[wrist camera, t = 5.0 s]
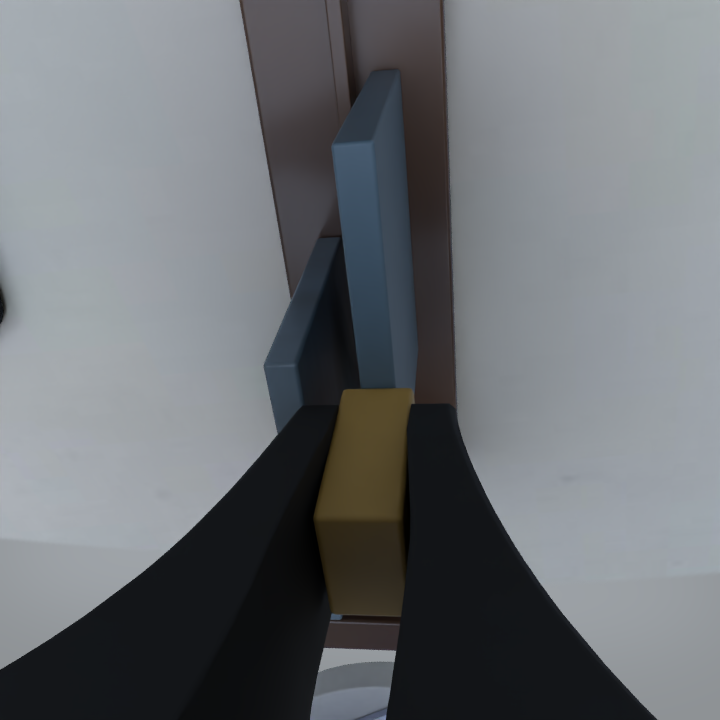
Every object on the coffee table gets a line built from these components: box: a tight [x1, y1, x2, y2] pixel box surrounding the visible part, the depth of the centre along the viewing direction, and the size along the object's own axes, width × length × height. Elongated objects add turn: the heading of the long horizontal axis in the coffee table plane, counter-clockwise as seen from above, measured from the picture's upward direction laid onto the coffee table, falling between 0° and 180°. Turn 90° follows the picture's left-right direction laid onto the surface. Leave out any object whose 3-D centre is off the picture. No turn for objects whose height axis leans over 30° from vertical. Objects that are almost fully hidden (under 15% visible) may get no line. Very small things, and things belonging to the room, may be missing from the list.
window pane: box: [313, 69, 418, 617], centre depth 12 cm, size 7×1×8 cm, turn 6°
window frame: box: [239, 0, 458, 651], centre depth 14 cm, size 16×4×6 cm, turn 6°
